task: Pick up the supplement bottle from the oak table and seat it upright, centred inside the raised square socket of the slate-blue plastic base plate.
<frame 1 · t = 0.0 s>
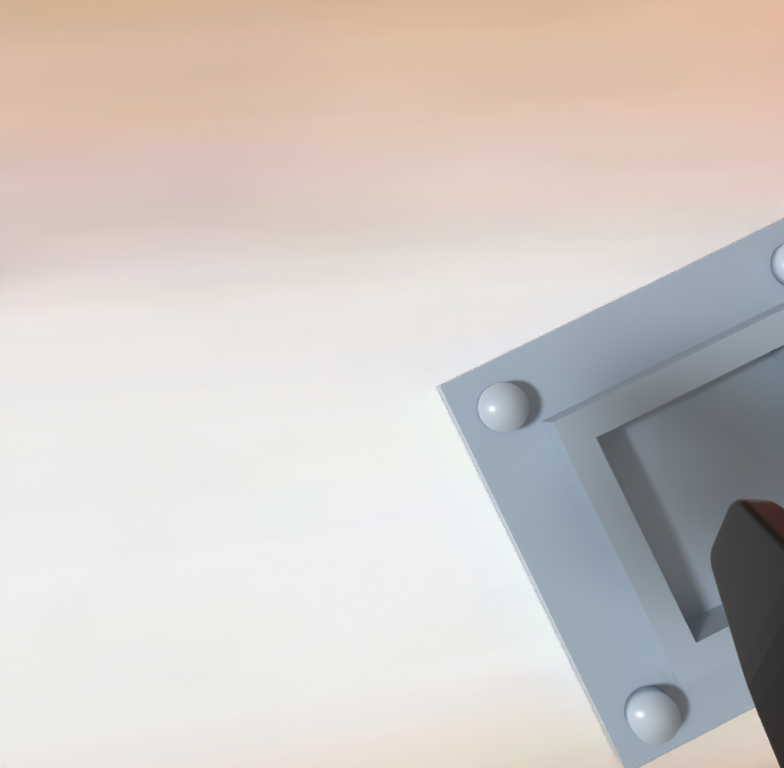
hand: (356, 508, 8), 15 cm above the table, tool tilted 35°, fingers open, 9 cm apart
base plate: (703, 480, 23), on the table
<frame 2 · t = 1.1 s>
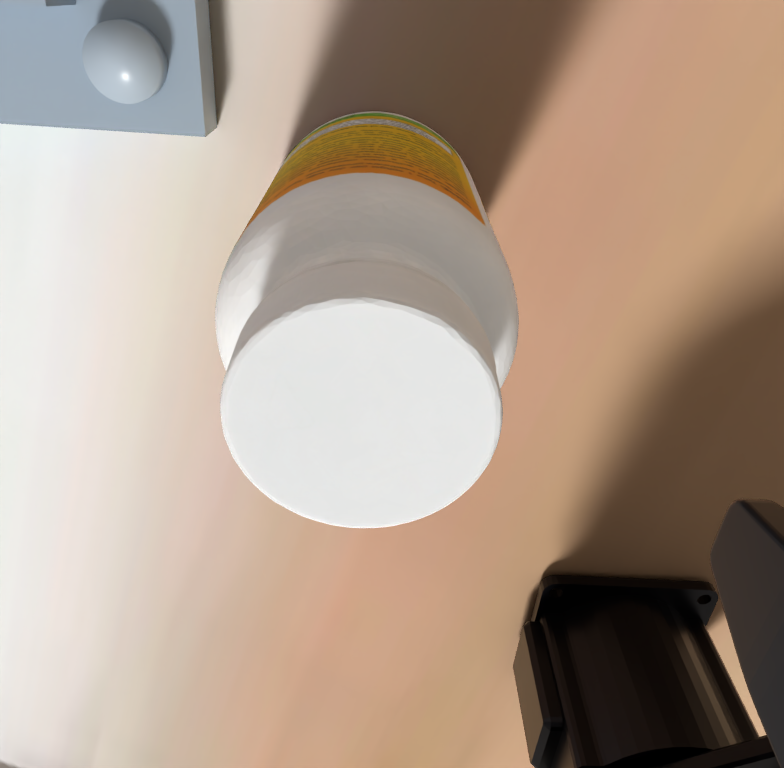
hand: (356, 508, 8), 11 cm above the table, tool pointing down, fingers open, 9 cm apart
supplement bottle: (375, 214, 18), on the table
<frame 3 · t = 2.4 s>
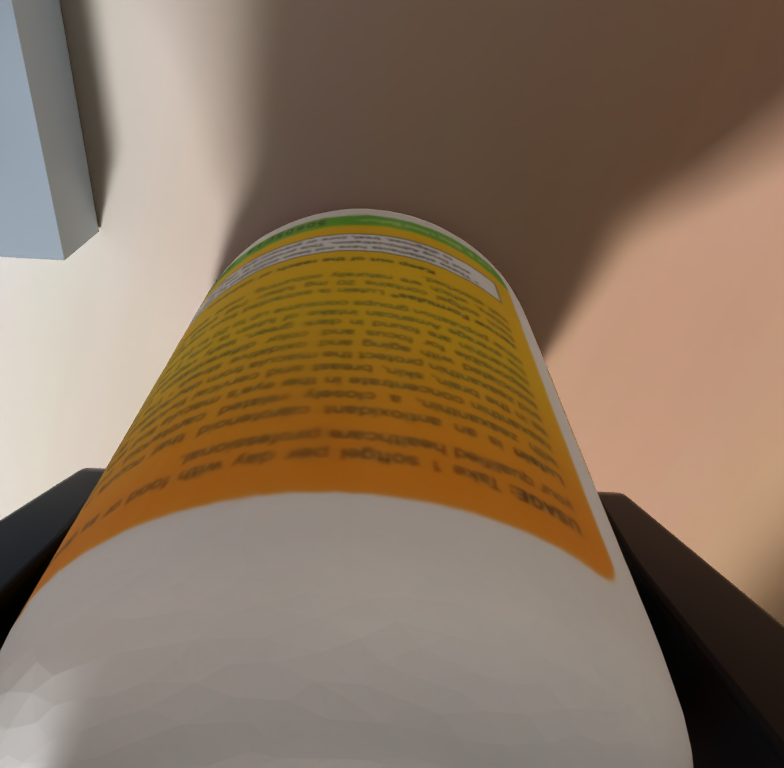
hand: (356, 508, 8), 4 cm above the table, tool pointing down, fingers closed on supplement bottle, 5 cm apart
supplement bottle: (365, 357, 11), on the table, touching gripper
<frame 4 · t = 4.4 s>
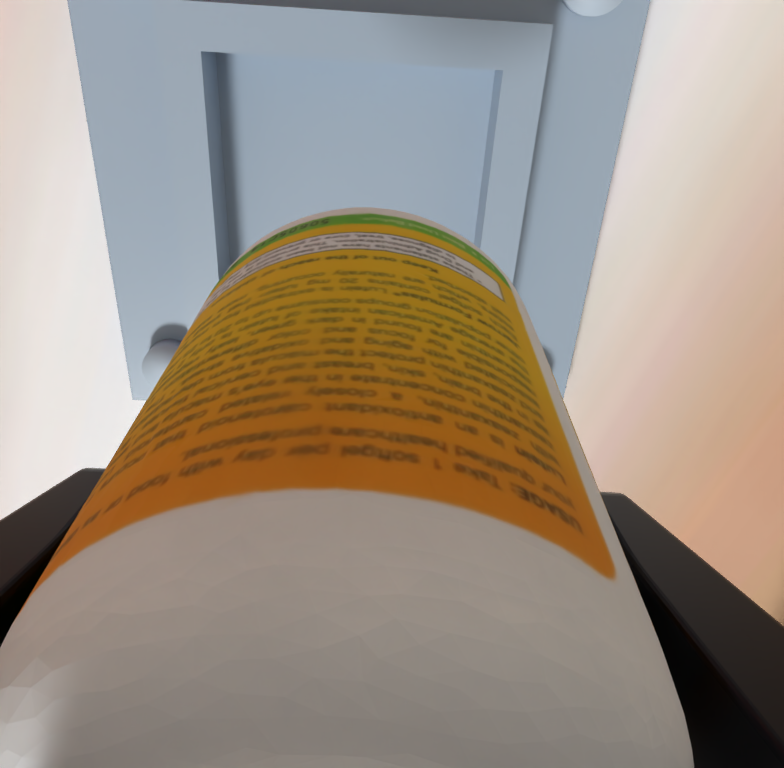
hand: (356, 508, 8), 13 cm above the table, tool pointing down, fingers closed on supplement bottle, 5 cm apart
supplement bottle: (368, 356, 11), point 10 cm above the table, touching gripper
base plate: (354, 186, 19), on the table
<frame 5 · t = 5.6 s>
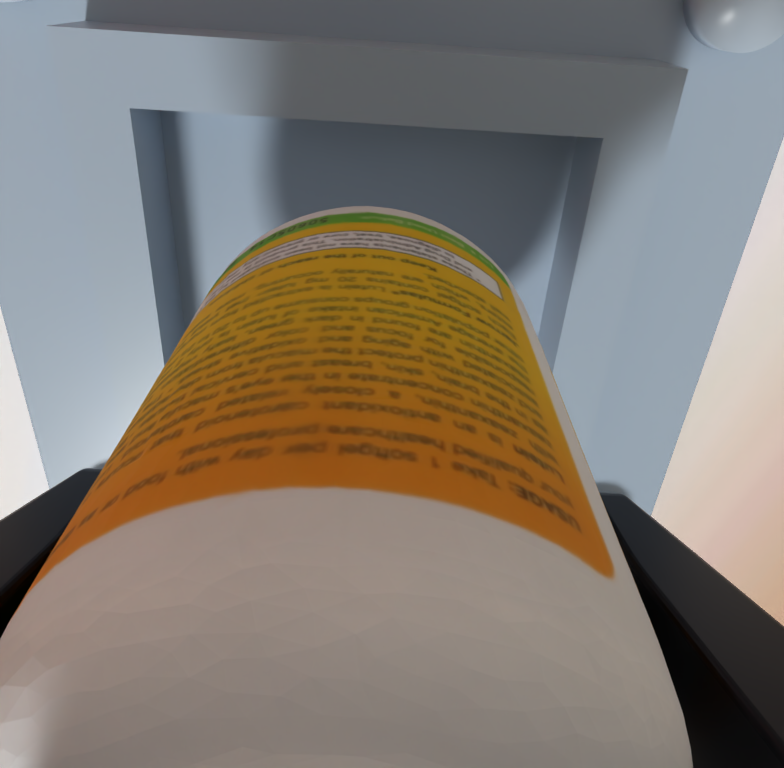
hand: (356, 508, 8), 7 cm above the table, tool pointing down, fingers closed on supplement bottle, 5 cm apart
supplement bottle: (367, 355, 11), point 3 cm above the table, touching gripper
base plate: (365, 278, 14), on the table
when the fingers open (5 cm above the table, at t = 6.4 s): supplement bottle stays where it is, resting on base plate.
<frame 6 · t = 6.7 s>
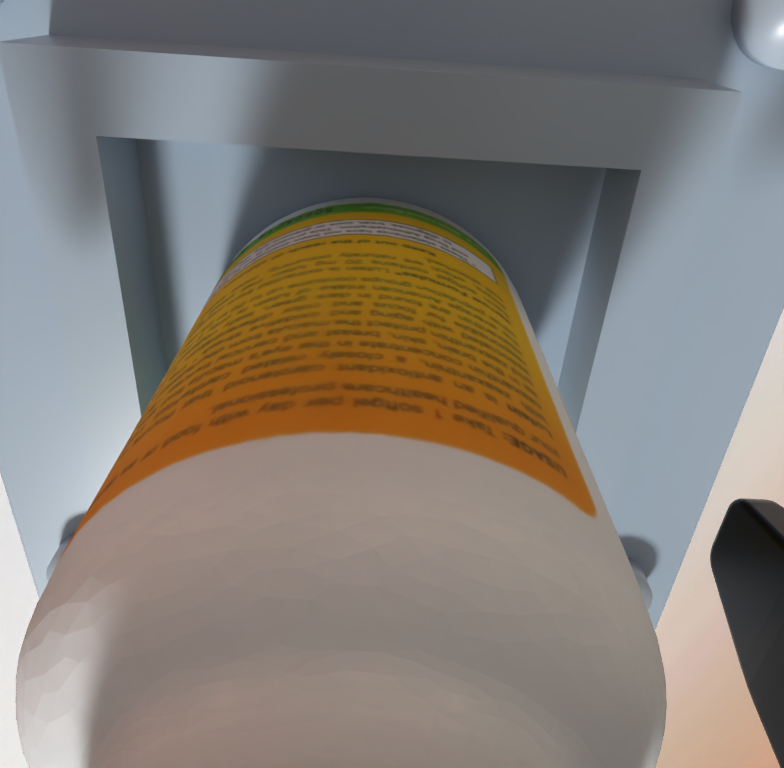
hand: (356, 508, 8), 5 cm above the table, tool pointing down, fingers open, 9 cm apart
supplement bottle: (367, 340, 12), point 1 cm above the table, touching base plate
base plate: (367, 315, 13), on the table
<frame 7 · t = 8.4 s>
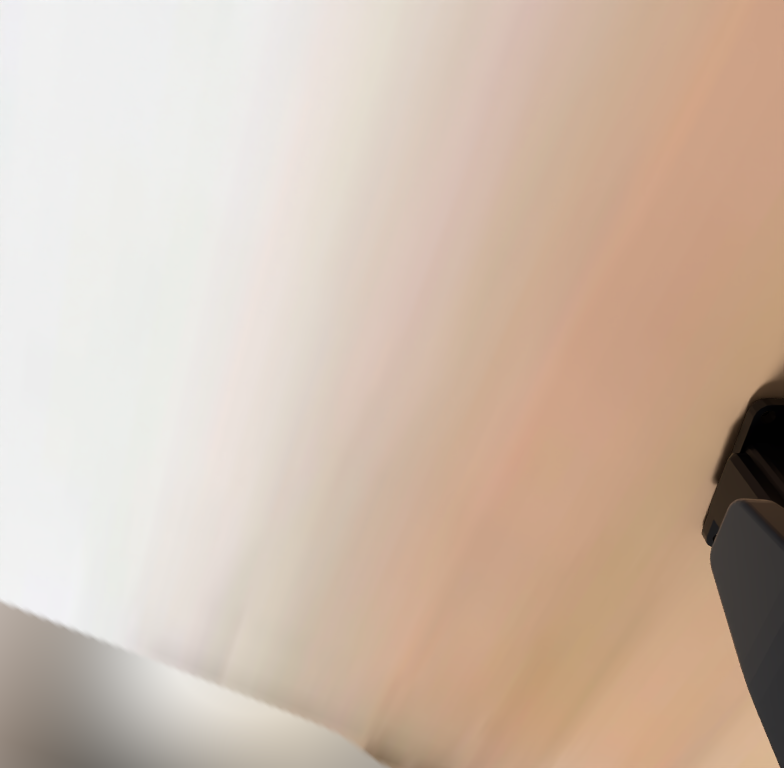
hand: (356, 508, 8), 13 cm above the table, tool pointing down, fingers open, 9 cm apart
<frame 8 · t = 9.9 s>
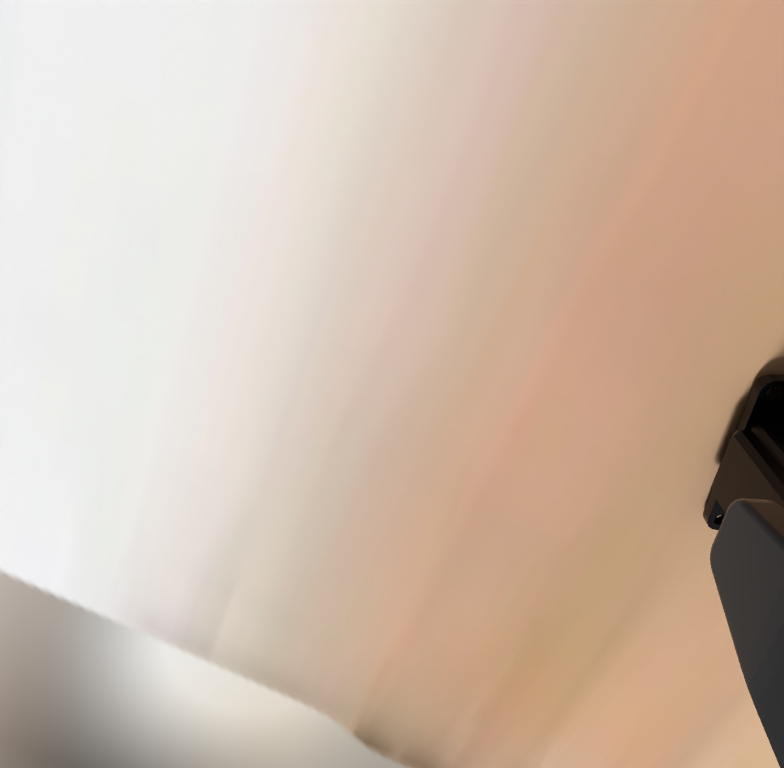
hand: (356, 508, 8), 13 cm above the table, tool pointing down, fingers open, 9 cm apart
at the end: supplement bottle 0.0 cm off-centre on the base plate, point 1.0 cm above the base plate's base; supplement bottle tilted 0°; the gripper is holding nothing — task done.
